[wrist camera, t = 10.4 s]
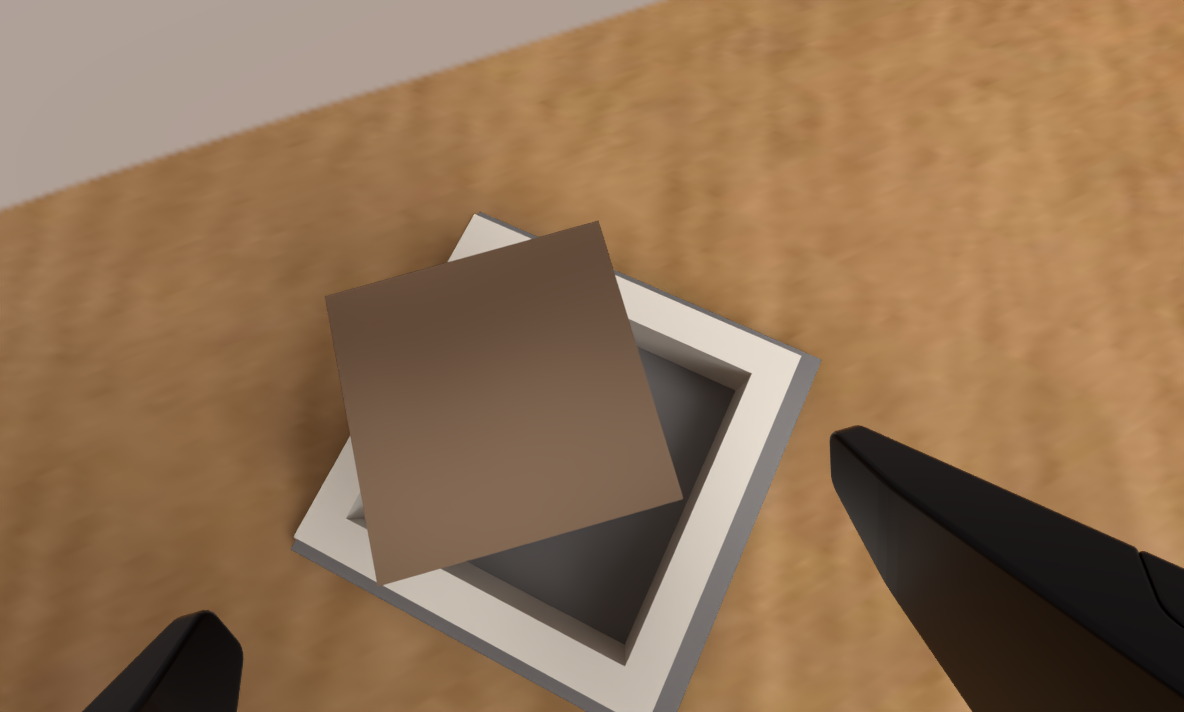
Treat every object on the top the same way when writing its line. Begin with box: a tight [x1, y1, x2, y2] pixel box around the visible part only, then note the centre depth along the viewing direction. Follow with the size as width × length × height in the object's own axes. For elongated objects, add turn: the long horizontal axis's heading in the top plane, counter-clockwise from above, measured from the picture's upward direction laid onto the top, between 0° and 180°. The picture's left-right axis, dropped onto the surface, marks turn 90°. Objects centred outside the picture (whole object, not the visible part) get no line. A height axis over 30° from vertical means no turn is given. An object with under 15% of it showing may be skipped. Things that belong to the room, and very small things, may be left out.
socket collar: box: [291, 212, 821, 712], centre depth 18 cm, size 12×12×3 cm
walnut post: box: [325, 221, 683, 586], centre depth 14 cm, size 4×4×10 cm
